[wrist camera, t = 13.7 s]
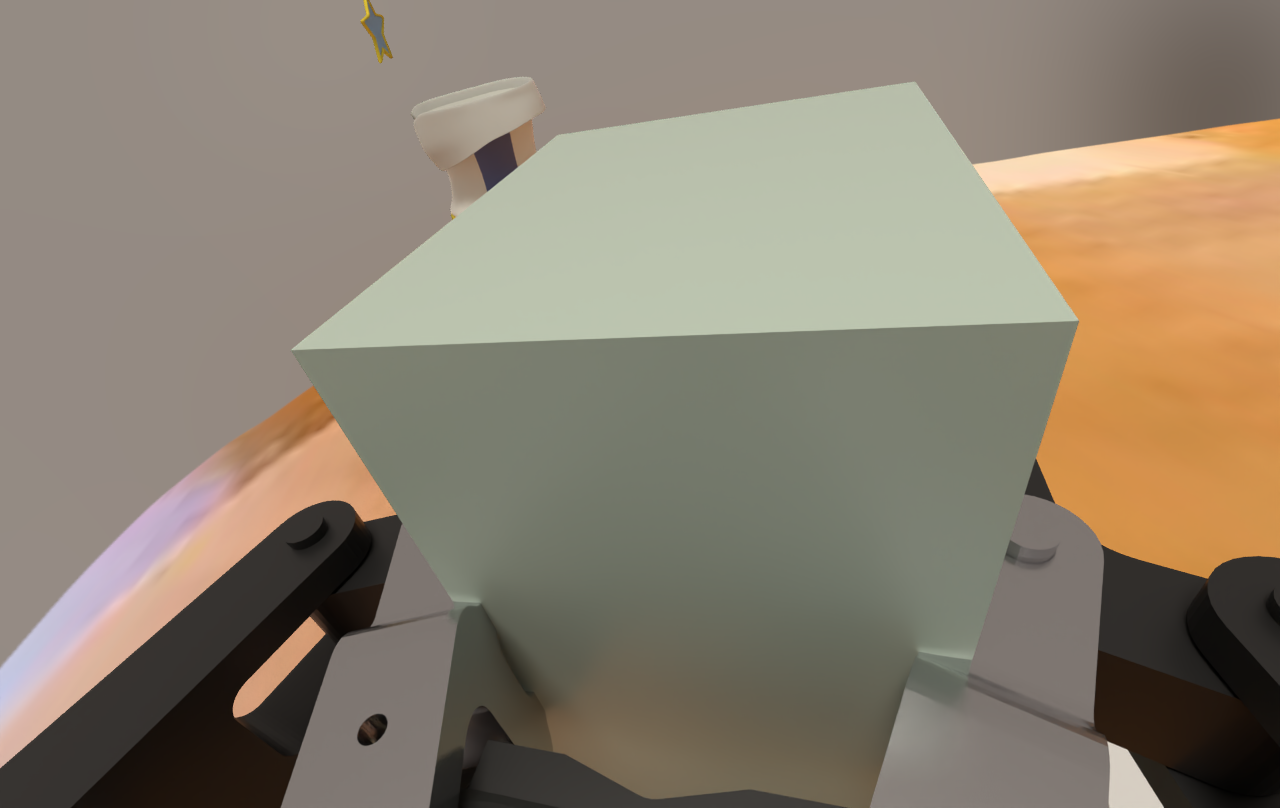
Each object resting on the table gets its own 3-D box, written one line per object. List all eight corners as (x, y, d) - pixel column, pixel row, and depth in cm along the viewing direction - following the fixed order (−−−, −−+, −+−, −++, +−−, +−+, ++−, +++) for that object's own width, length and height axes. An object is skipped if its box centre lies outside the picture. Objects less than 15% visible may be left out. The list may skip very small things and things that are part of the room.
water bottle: (520, 414, 41) (346, -13, 26) (498, 360, 47) (350, -4, 32) (626, 372, 42) (520, -52, 27) (590, 326, 49) (489, -36, 34)
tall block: (867, 582, 14) (912, 78, 8) (894, 906, 9) (1077, 321, 3) (668, 565, 15) (561, 131, 9) (607, 839, 11) (290, 350, 4)
